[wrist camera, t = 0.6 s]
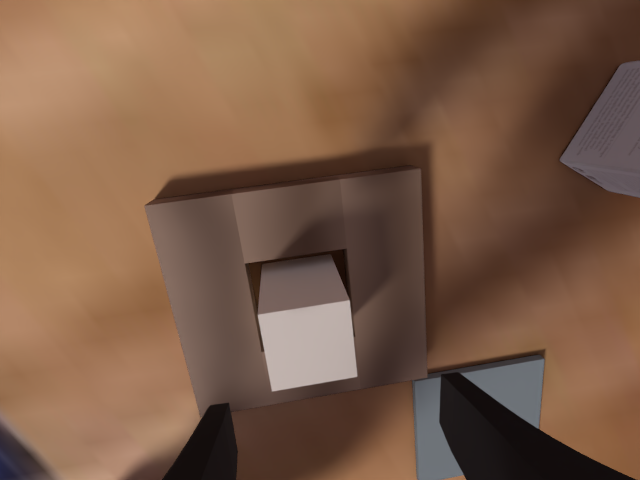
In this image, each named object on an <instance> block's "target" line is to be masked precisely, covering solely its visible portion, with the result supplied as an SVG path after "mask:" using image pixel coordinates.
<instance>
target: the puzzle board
mask: <svg viewBox="0 0 640 480" xmlns="http://www.w3.org/2000/svg"><path fill="white" fill-rule="evenodd" d="M145 210H146V214H147V218H148V221H149V225H150V229H151V233H152V236H153V240H154V244H155V248H156V251H157V255H158V259H159V263H160V266H161V270H162V274H163V278H164V281H165V285H166V289H167V293H168V296H169V300H170V304H171V308H172V311H173V315H174V319H175V323H176V327H177V330H178V334H179V338H180V342H181V345H182V349H183V353H184V357H185V360H186V364H187V368H188V372H189V375H190V379H191V383H192V387H193V390H194V394H195V398H196V402H197V405H198V409H199V413H200V417H203V415H204V413H205V412H206V410H207V408H208V407H209V406H210V405H215V404H222V403H229V405H230V411H231V412H234V411H240V410H245V409H251V408H257V407H262V406H268V405H274V404H279V403H285V402H291V401H297V400H302V399H308V398H314V397H319V396H325V395H331V394H337V393H342V392H348V391H354V390H359V389H365V388H371V387H376V386H382V385H388V384H394V383H399V382H405V381H411V380H416V379H422V378H427V346H426V314H425V282H424V250H423V217H422V185H421V168H418V167H415V166H412V165H409V166H402V167H394V168H387V169H379V170H372V171H364V172H357V173H349V174H342V175H335V176H327V177H320V178H312V179H305V180H297V181H290V182H282V183H275V184H267V185H260V186H252V187H245V188H237V189H230V190H222V191H215V192H207V193H200V194H192V195H185V196H177V197H170V198H162V199H155V200H152V201H151V202H149V203H148V204H146V205H145ZM340 249H343V253H344V263H345V273H346V283H347V292H348V297H349V300H350V308H351V318H352V328H353V338H354V348H355V358H356V368H357V377H353V378H348V379H342V380H336V381H330V382H324V383H319V384H313V385H307V386H301V387H295V388H290V389H284V390H278V391H272V389H271V383H270V378H269V373H268V367H267V362H266V357H265V351H264V346H263V341H262V335H261V330H260V325H259V319H258V312H257V307H256V301H255V296H254V291H253V285H252V280H251V275H250V269H249V264H248V263H252V262H259V261H266V260H273V259H279V258H286V257H293V256H300V255H306V254H313V253H320V252H327V251H334V250H340Z"/></svg>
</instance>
